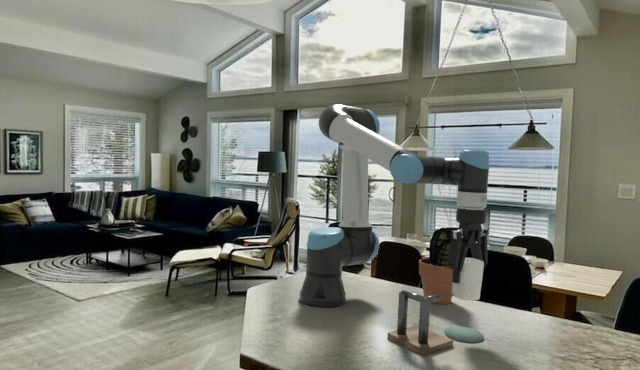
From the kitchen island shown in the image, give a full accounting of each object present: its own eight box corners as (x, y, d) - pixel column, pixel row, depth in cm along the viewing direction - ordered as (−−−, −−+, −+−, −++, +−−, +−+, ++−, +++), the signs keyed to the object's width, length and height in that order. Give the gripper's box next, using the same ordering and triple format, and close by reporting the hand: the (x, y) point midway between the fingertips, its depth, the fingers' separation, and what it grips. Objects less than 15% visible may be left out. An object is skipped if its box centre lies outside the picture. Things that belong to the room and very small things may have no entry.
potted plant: (408, 298, 150) (413, 226, 149) (431, 292, 159) (435, 223, 158) (444, 309, 140) (448, 231, 139) (466, 302, 149) (470, 229, 148)
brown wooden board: (387, 338, 113) (387, 332, 113) (415, 330, 120) (415, 325, 120) (424, 355, 104) (424, 349, 104) (452, 346, 110) (452, 340, 110)
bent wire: (394, 332, 113) (397, 289, 113) (412, 327, 118) (415, 286, 117) (423, 345, 106) (426, 299, 106) (441, 339, 110) (444, 295, 110)
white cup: (484, 302, 113) (486, 264, 113) (452, 299, 115) (454, 261, 114) (479, 294, 121) (481, 258, 120) (449, 291, 122) (451, 256, 122)
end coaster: (436, 332, 119) (436, 330, 119) (458, 325, 125) (458, 323, 125) (468, 345, 111) (469, 343, 111) (490, 337, 117) (490, 335, 117)
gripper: (460, 210, 108) (455, 302, 108) (505, 208, 120) (500, 291, 121) (435, 207, 113) (430, 294, 114) (480, 206, 126) (475, 284, 127)
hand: (466, 292), depth 118 cm, fingers closed on white cup, 8 cm apart
